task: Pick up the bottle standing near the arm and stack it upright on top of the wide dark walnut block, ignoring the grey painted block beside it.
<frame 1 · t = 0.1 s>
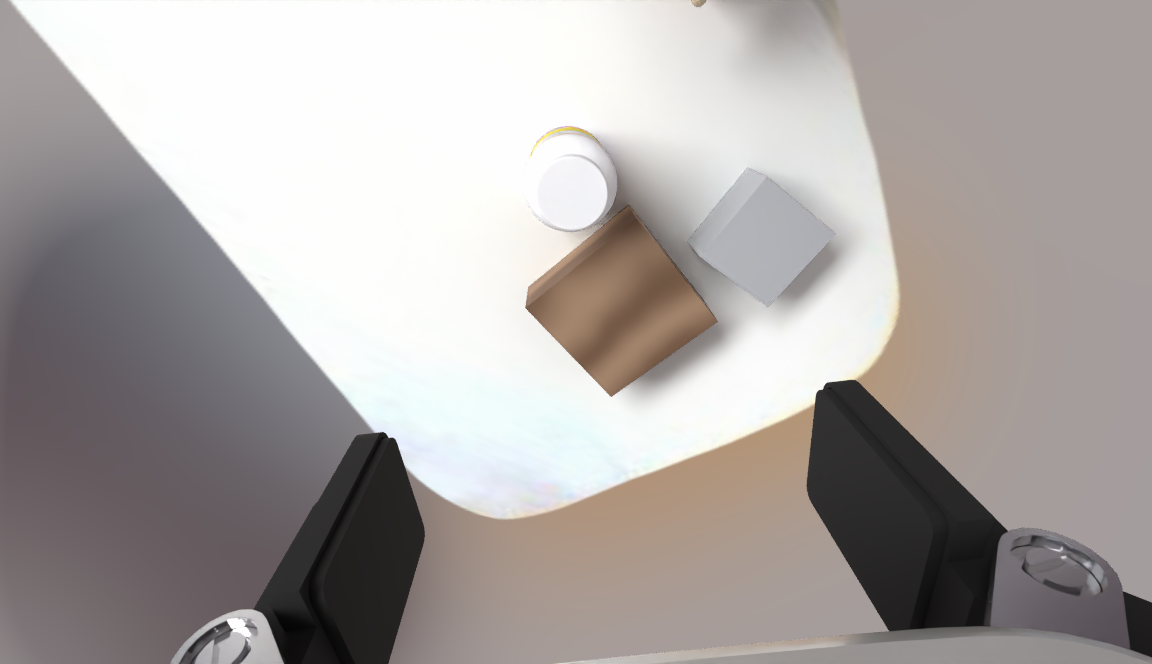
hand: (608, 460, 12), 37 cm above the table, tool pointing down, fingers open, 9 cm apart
supplement bottle: (567, 166, 45), on the table
grey block: (747, 230, 48), on the table
walnut block: (616, 293, 50), on the table
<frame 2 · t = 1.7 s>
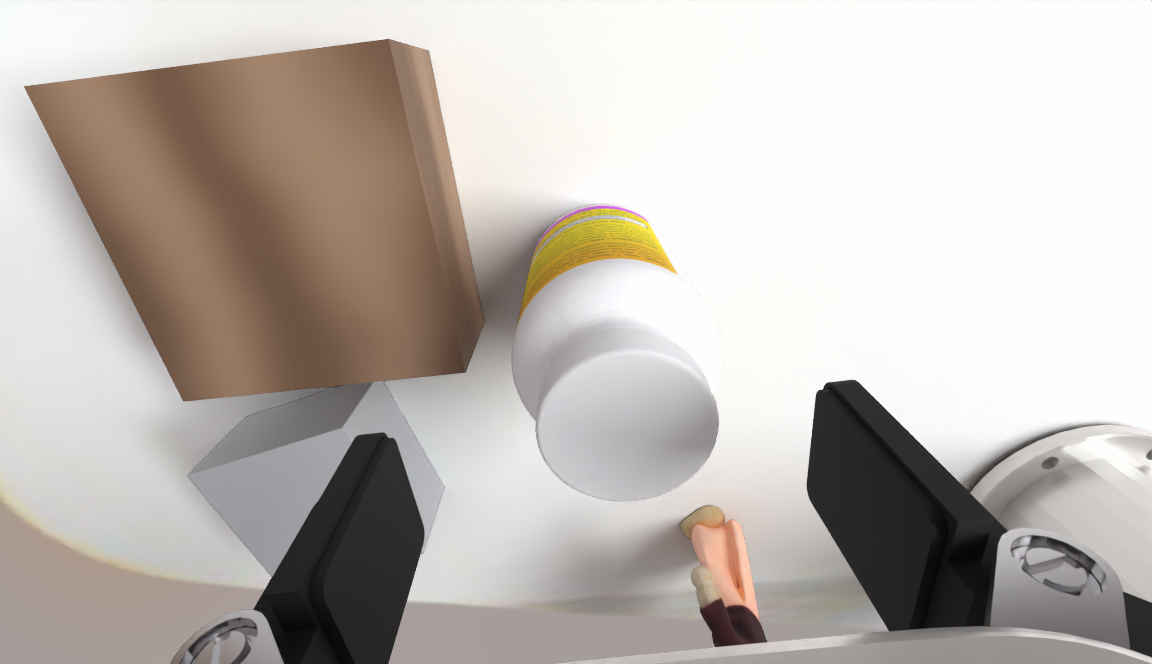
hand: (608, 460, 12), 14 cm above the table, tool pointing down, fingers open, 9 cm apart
supplement bottle: (600, 270, 25), on the table
grandmother figurine: (707, 525, 32), on the table
grey block: (350, 450, 29), on the table
walnut block: (329, 216, 23), on the table
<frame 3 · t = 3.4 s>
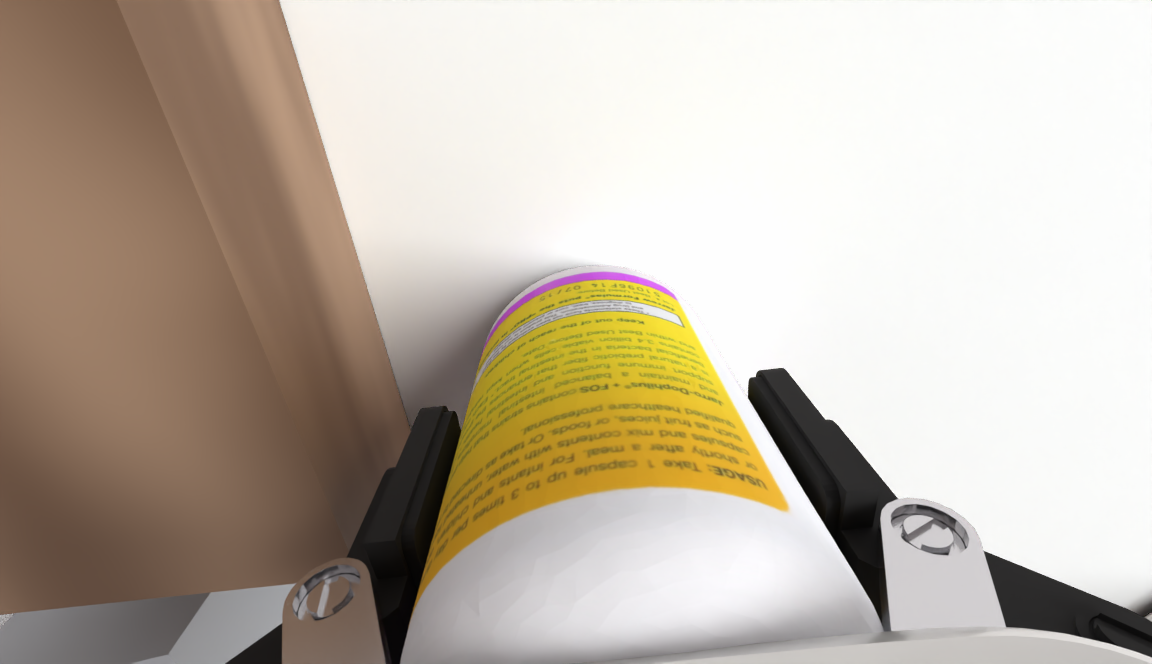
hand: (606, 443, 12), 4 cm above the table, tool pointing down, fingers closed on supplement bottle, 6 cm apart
supplement bottle: (595, 362, 16), on the table, touching gripper
grey block: (229, 609, 20), on the table
walnut block: (139, 287, 14), on the table
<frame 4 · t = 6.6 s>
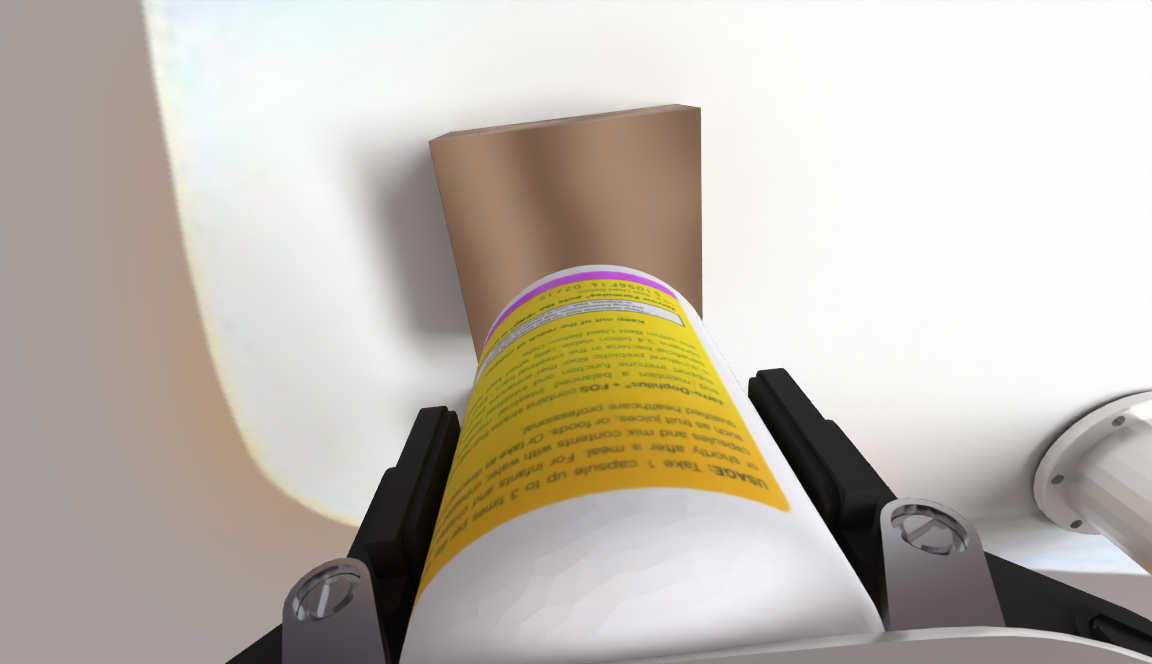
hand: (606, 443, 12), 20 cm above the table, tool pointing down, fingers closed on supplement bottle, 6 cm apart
supplement bottle: (595, 361, 16), point 16 cm above the table, touching gripper
walnut block: (576, 230, 30), on the table
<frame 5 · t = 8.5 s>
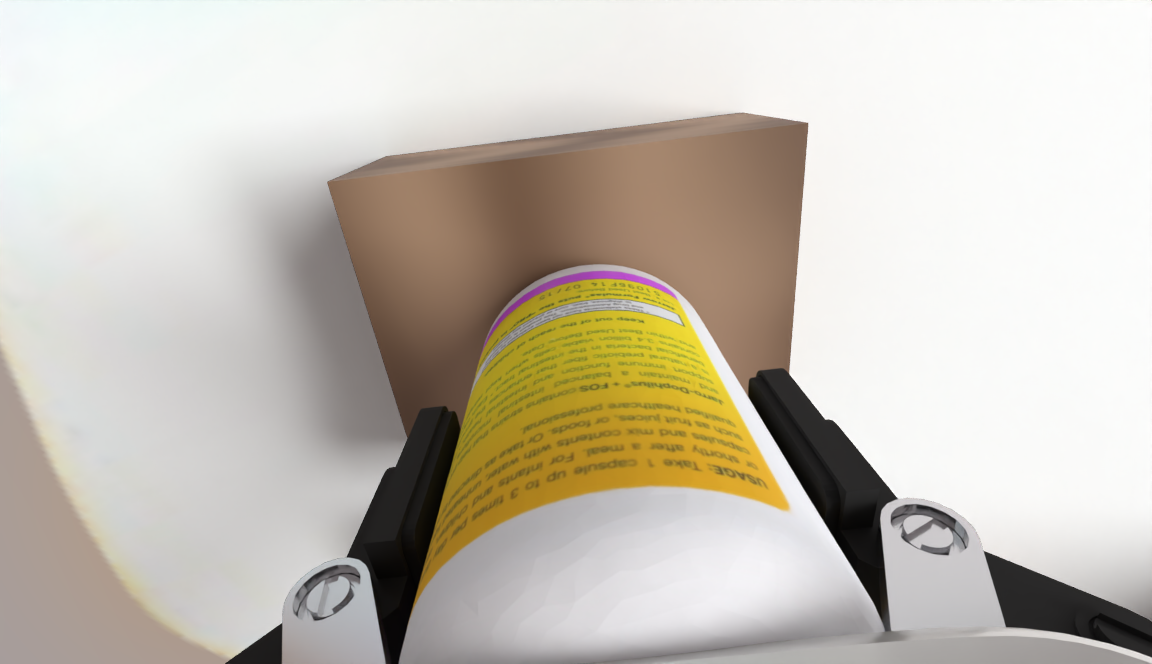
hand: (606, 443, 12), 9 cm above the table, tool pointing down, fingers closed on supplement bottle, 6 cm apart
supplement bottle: (595, 361, 16), point 5 cm above the table, touching gripper
walnut block: (582, 299, 20), on the table
when the fingers open (9 cm above the table, at t = 9.8 s): supplement bottle stays where it is, resting on walnut block.
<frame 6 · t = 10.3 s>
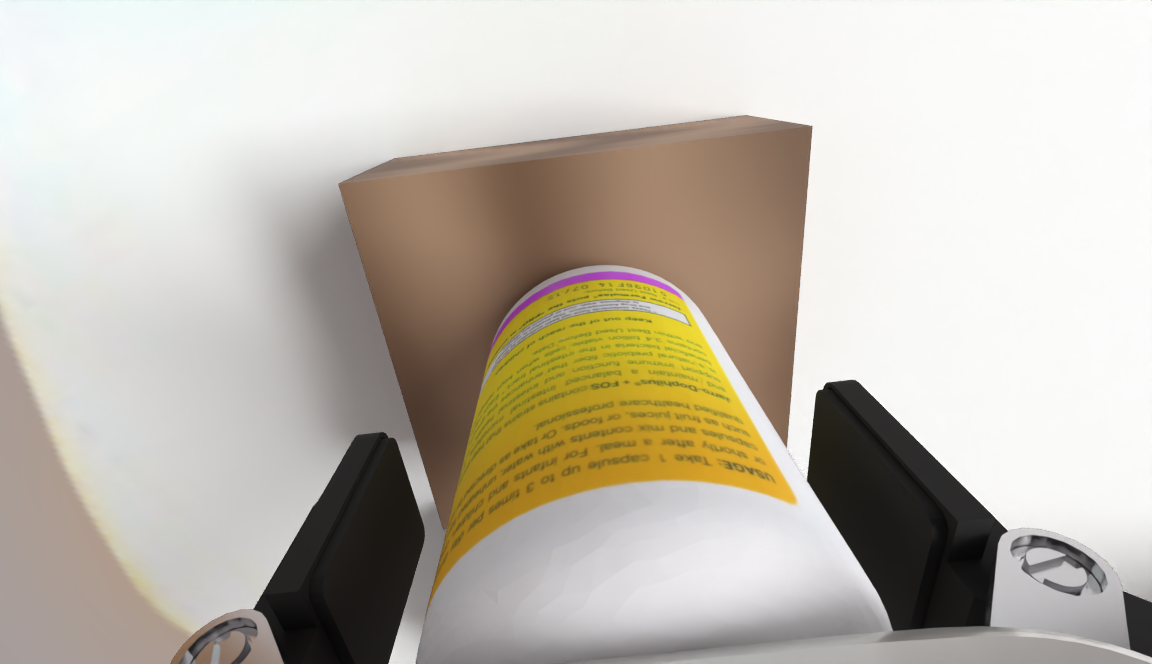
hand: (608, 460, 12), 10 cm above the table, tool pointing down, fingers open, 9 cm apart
supplement bottle: (601, 360, 16), point 5 cm above the table, touching walnut block
walnut block: (587, 300, 20), on the table
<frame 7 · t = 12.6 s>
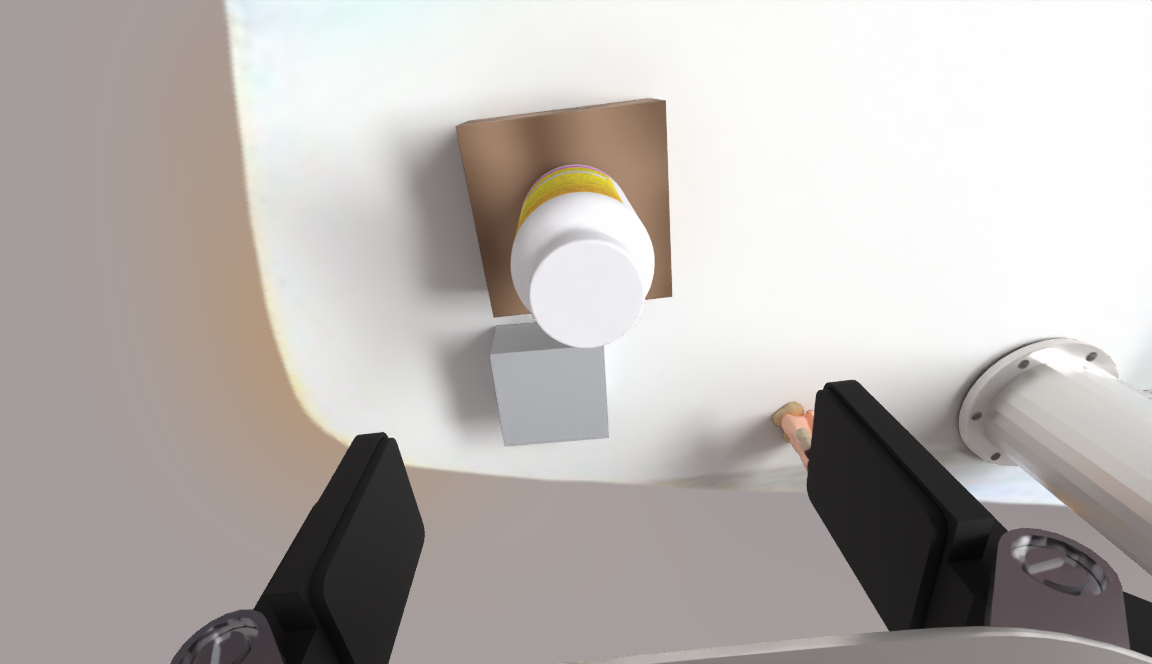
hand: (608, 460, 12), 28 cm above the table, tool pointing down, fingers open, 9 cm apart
supplement bottle: (575, 218, 32), point 5 cm above the table, touching walnut block
grandmother figurine: (790, 417, 46), on the table
grey block: (552, 364, 42), on the table
walnut block: (570, 201, 37), on the table
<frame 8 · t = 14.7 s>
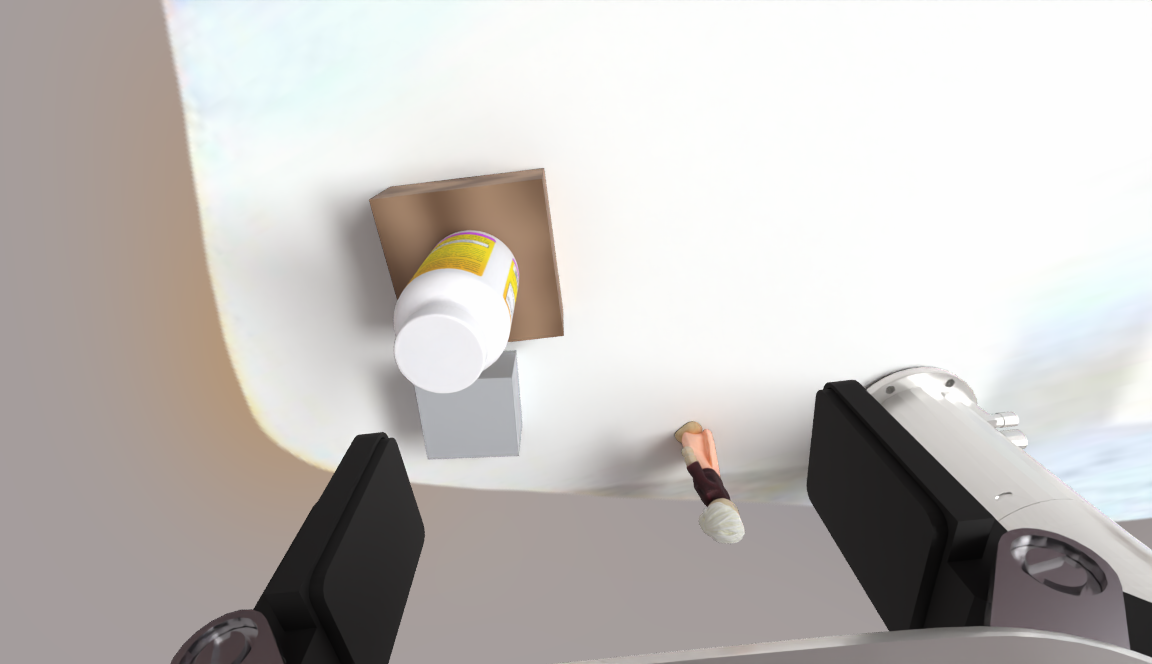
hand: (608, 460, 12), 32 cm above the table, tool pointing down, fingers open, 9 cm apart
supplement bottle: (475, 271, 38), point 5 cm above the table, touching walnut block
grandmother figurine: (691, 434, 51), on the table
grey block: (476, 388, 48), on the table
walnut block: (481, 252, 43), on the table
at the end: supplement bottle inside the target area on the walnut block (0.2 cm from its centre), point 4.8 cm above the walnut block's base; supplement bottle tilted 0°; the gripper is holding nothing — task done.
